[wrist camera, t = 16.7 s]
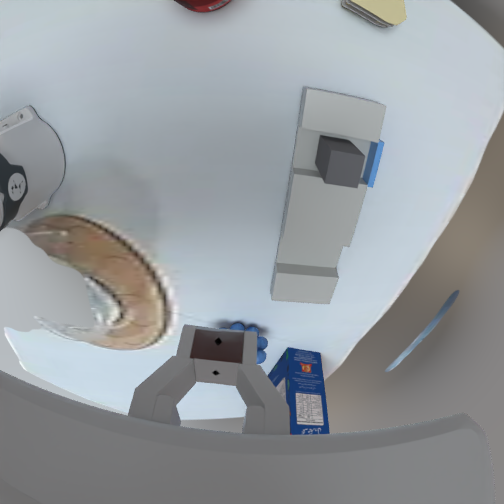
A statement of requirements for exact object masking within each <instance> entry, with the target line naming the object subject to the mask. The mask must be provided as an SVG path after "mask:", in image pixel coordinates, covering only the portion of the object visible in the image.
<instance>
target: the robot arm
mask: <svg viewBox="0 0 504 504" xmlns="http://www.w3.org/2000/svg"><path fill="white" fill-rule="evenodd" d="M64 170H65V160H64V153H63V149H62V146H61V143H60V141H59V139H58V137H57V135H56V133H55V132H54V131H53V129H52V128H51V127H50V126H49V125H48V124H46V123H45V122H44V121H42V120H41V119H40V118H39V117H38V116H37V114H36V113H35V111H34V109H33V108H32V107H31V106H26V107H24V108H23V109H21V110H19V111H17V112H15V113H14V114H12V115H10V116H8V117H7V118H5V119H3V120H2V121H0V231H1V230H2V229H3V228H5V227H6V226H8V225H9V224H10V222H11V221H12V220H16V221H20V220H21V219H23V218H24V217H25V216H27V215H28V214H29V213H31V212H32V211H33V210H34V209H36V208H37V209H41V210H42V209H44V208H46V207H47V206H48V203H49V200H50V197H51V195H52V194H53V193H54V192H55V191H56V190H57V189H58V187H59V186H60V184H61V182H62V179H63V176H64ZM256 362H257V332H252V331H243V330H231V329H216V328H208V327H201V326H194V325H186V324H185V325H184V327H183V329H182V333H181V338H180V342H179V346H178V350H177V354H176V356H172V357H171V358H170V359H169V360H168V361H166V362H165V363H164V364H163V365H162V366H161V367H160V368H158V369H157V370H156V371H155V372H154V373H153V374H152V375H150V376H149V377H148V378H147V379H146V380H145V381H144V382H142V383H141V384H140V385H139V386H138V387H137V388H135V391H134V395H133V399H132V402H131V406H130V409H129V413H128V416H127V415H123V414H119V413H115V412H111V411H108V410H104V409H101V408H97V407H94V406H90V405H87V404H83V403H81V402H78V401H75V400H71V399H69V398H66V397H63V396H60V395H57V394H55V393H52V392H49V391H47V390H44V389H41V388H39V387H37V386H34V385H32V384H29V383H27V382H25V381H23V380H20V379H18V378H16V377H14V376H11V375H9V374H7V373H5V372H3V371H1V370H0V504H495V484H494V473H493V466H492V459H491V453H490V448H489V443H488V439H487V436H486V433H485V431H484V429H483V428H482V427H481V426H480V425H479V424H478V423H477V422H476V421H475V420H474V419H472V418H471V417H470V416H469V415H468V414H466V413H459V414H455V415H452V416H447V417H443V418H439V419H435V420H431V421H426V422H420V423H415V424H410V425H404V426H398V427H392V428H385V429H378V430H369V431H359V432H349V433H336V434H314V435H290V416H289V406H288V404H287V403H286V401H285V400H284V399H283V397H282V396H281V394H280V393H279V392H278V390H277V389H276V388H275V386H274V385H273V383H272V382H271V380H270V379H269V378H268V376H267V375H266V373H265V372H264V371H263V369H262V368H261V366H260V365H256ZM196 382H205V383H216V384H224V385H233V386H236V388H237V390H238V391H239V393H240V395H241V397H242V399H243V401H244V402H245V404H246V406H247V409H246V414H245V418H244V423H243V428H242V433H233V432H222V431H213V430H203V429H196V428H189V427H183V426H180V424H181V421H180V417H179V414H178V411H177V408H176V405H177V404H178V402H179V401H180V400H181V399H182V398H183V397H184V396H185V395H186V394H187V392H188V391H189V390H190V389H191V388H192V387H193V386H194V385H195V383H196Z"/></svg>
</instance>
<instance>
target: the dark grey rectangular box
mask: <svg viewBox="0 0 504 504" xmlns="http://www.w3.org/2000/svg"><path fill="white" fill-rule="evenodd" d="M364 160H365V155H364V154H363V153H362V152H361V151H360V150H359V149H358V148H357V147H356V146H355V145H354V144H353V143H352V142H351V141H350V140H346V139H341V138H336V137H330V136H324V135H320V137H319V143H318V149H317V155H316V160H315V164H316V166H317V168H318V171H319V173H320V175H321V177H322V179H323V181H324V183H325V184H332V185H338V186H345V187H351V188H357V189H358V185H359V181H360V177H361V173H362V169H363V165H364Z"/></svg>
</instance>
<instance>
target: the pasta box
mask: <svg viewBox="0 0 504 504" xmlns="http://www.w3.org/2000/svg"><path fill="white" fill-rule="evenodd" d="M268 378H269V379H270V380H271V382H272V383H273V385H274V386H275V388H276V389H277V390H278V392H279V393H280V394H281V396H282V397H283V399H284V400H285V401H286V403H287V404H288V406H289V416H290V435H314V434H330V433H329V423H328V414H327V404H326V395H325V387H324V379H323V371H322V363H321V355H320V353H319V352H312V351H306V350H300V349H294V348H289V347H288V348H287V349H286V351H285V352H284V353H283V355H282V356H281V358H280V359H279V361H278V362H277V363H276V365H275V366H274V368H273V369H272V370H271V372H270V373H269V374H268Z"/></svg>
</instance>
